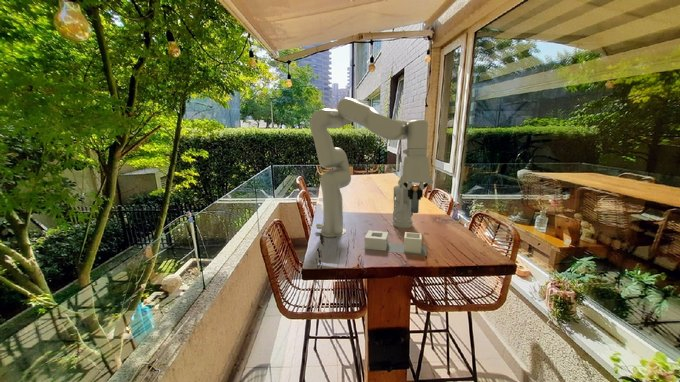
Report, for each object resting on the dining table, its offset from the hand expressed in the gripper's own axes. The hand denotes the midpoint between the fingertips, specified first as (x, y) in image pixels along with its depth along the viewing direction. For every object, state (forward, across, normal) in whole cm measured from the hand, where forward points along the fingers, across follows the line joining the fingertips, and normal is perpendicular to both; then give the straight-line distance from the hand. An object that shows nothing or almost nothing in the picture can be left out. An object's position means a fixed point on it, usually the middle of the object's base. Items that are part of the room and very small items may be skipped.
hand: (415, 198), depth 107 cm
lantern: (+23, -6, +31) cm, 39 cm away
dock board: (+23, -8, 0) cm, 24 cm away
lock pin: (+6, 0, 0) cm, 6 cm away
